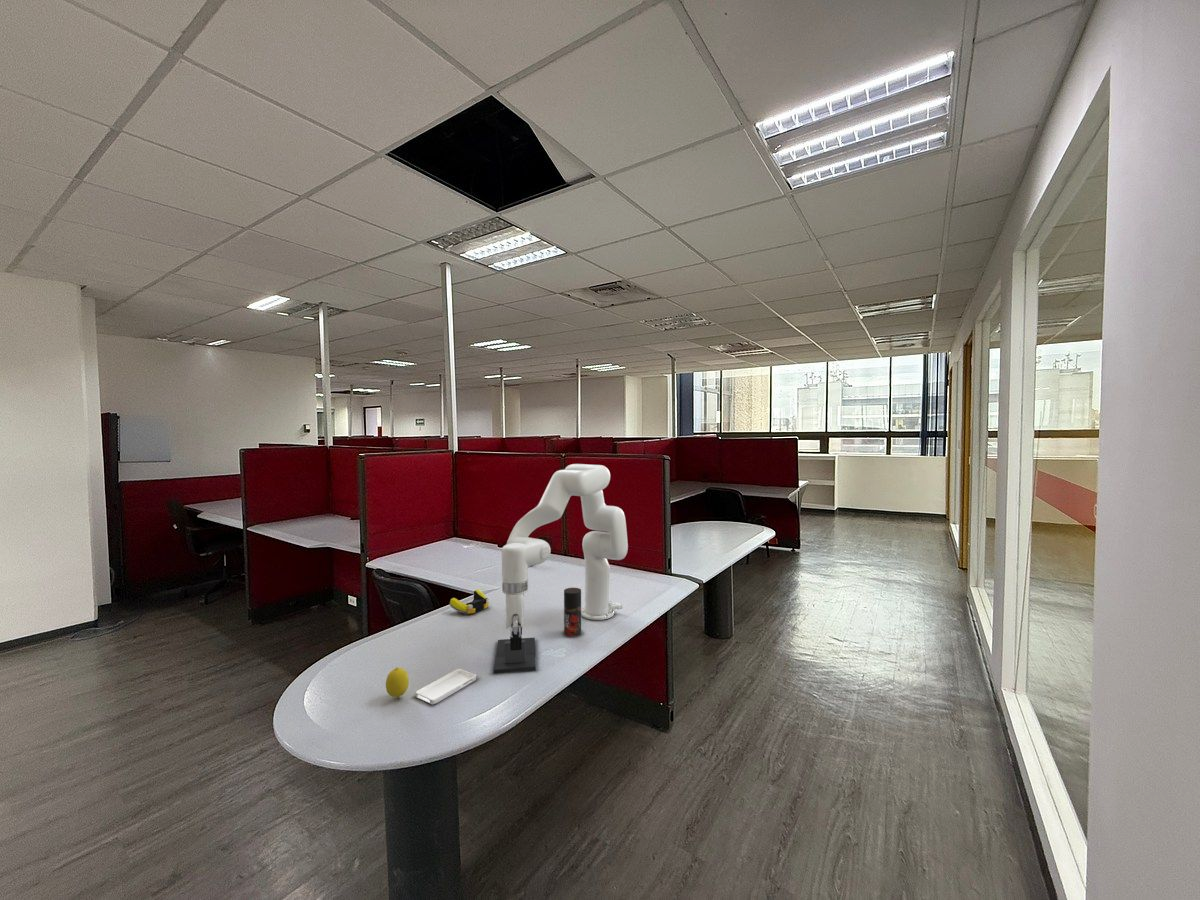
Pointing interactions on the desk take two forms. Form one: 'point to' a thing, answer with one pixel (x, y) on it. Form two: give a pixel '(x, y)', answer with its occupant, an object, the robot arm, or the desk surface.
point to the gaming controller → (471, 604)
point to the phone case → (445, 686)
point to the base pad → (528, 646)
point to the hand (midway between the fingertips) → (516, 642)
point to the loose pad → (514, 665)
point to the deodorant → (572, 612)
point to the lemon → (397, 682)
